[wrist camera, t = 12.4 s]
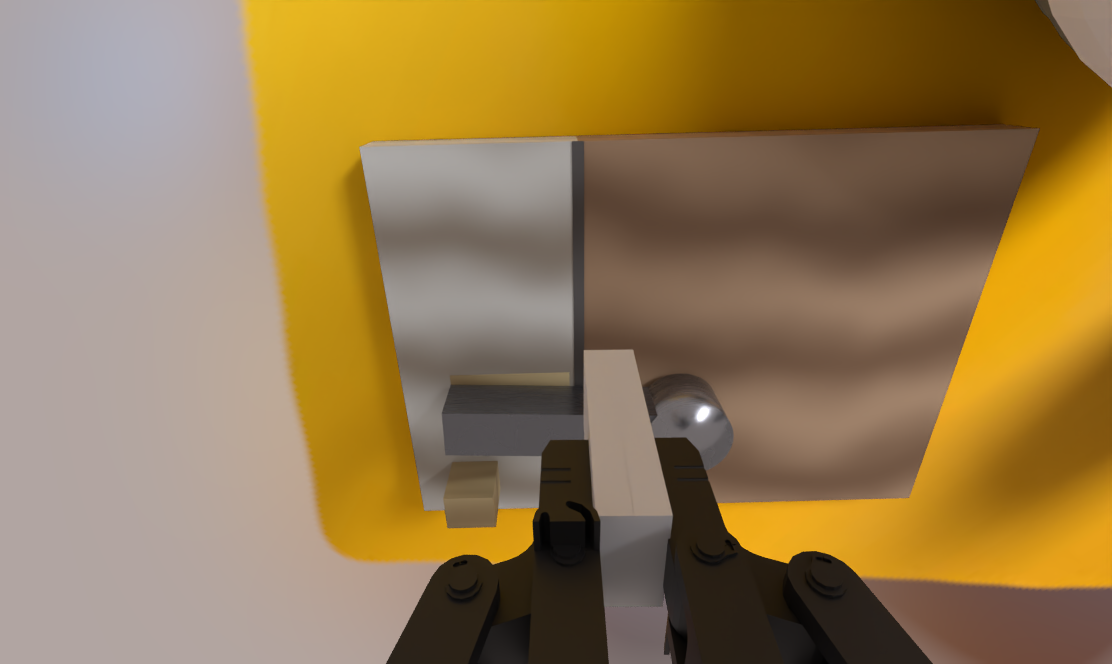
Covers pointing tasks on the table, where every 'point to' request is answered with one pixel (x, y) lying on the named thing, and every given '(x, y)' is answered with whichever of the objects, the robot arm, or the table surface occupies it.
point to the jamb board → (697, 288)
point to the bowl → (1085, 30)
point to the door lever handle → (576, 417)
